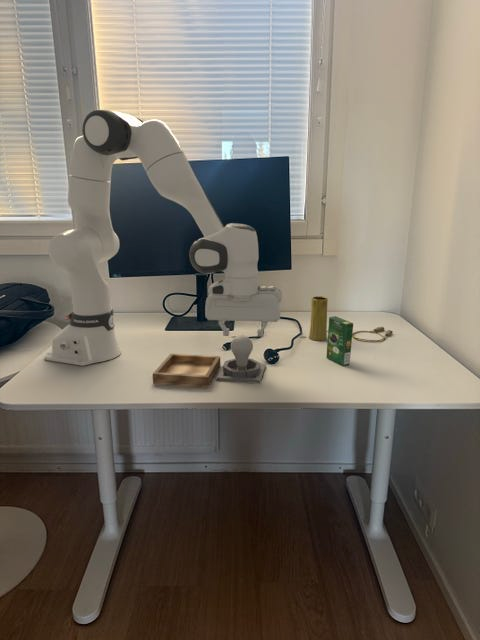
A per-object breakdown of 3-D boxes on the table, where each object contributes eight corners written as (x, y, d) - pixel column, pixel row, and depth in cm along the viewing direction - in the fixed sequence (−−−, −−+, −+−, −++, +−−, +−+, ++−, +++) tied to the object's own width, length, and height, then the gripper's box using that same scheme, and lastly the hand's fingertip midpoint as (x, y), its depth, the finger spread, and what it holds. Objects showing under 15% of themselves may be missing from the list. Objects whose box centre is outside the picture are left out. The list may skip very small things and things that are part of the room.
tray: (153, 384, 116) (152, 373, 116) (171, 363, 131) (170, 353, 130) (208, 388, 114) (208, 377, 113) (220, 366, 128) (220, 356, 127)
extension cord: (402, 341, 150) (403, 336, 149) (359, 344, 147) (360, 339, 146) (384, 330, 161) (385, 325, 160) (344, 333, 158) (344, 328, 158)
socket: (216, 380, 119) (216, 371, 118) (225, 363, 130) (225, 355, 129) (260, 383, 117) (260, 374, 116) (265, 366, 128) (265, 358, 127)
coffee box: (351, 365, 128) (354, 322, 125) (343, 367, 127) (346, 323, 123) (333, 356, 135) (335, 315, 132) (325, 358, 134) (328, 316, 130)
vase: (319, 342, 148) (321, 301, 144) (305, 337, 152) (306, 297, 148) (330, 338, 152) (332, 298, 148) (316, 334, 156) (318, 295, 152)
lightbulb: (234, 378, 120) (233, 340, 117) (228, 370, 125) (228, 333, 122) (255, 376, 121) (255, 338, 118) (249, 367, 127) (249, 331, 124)
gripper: (282, 284, 117) (282, 333, 121) (208, 283, 121) (210, 331, 125) (280, 289, 111) (280, 340, 115) (202, 288, 115) (204, 338, 119)
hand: (243, 335), depth 120 cm, fingers open, 8 cm apart
